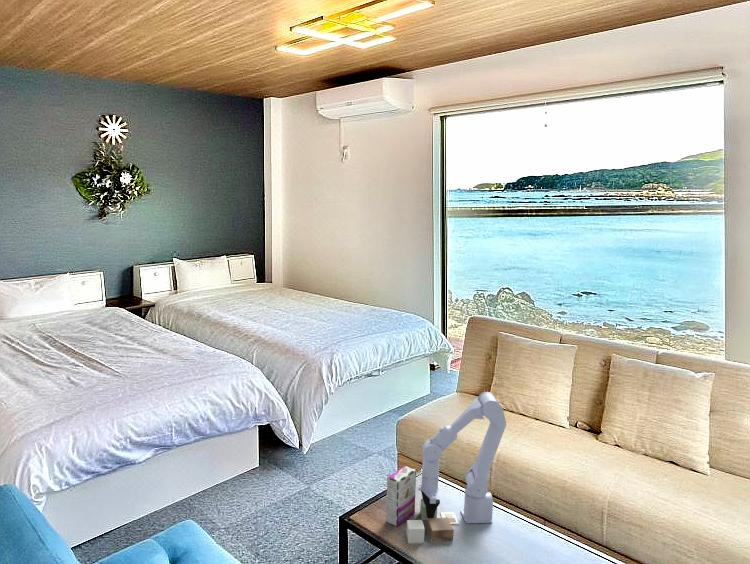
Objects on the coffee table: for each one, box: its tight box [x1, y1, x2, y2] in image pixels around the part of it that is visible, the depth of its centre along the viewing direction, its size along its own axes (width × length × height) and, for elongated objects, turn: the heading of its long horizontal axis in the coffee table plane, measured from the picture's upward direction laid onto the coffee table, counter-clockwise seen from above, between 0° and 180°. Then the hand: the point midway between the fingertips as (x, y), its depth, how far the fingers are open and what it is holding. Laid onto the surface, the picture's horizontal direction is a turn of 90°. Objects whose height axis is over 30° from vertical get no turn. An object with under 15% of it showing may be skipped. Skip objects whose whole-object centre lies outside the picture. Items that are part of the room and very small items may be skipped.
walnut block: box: [426, 517, 454, 542], centre depth 181 cm, size 7×7×4 cm
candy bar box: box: [385, 465, 417, 527], centre depth 190 cm, size 11×5×16 cm, turn 143°
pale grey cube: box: [406, 519, 425, 544], centre depth 179 cm, size 5×5×5 cm
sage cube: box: [419, 498, 438, 521], centre depth 192 cm, size 5×5×5 cm
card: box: [439, 511, 460, 526], centre depth 191 cm, size 5×7×1 cm
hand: (428, 512), depth 192 cm, fingers open, 7 cm apart
